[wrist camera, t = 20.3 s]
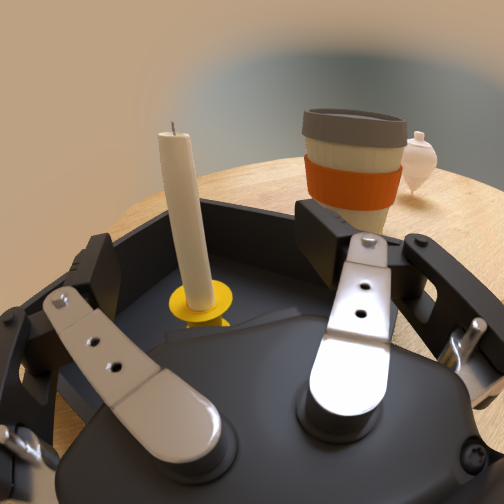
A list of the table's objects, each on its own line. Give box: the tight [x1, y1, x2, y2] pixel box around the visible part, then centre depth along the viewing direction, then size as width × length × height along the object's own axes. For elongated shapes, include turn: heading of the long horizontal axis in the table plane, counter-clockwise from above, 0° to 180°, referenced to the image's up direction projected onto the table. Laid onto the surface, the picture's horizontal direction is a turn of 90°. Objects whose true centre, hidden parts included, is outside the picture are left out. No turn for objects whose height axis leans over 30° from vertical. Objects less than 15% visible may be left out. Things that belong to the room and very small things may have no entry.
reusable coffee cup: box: [302, 109, 408, 235], centre depth 33 cm, size 13×13×15 cm
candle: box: [158, 122, 233, 328], centre depth 16 cm, size 5×5×16 cm
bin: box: [20, 198, 404, 424], centre depth 19 cm, size 22×22×7 cm
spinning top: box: [401, 131, 437, 196], centre depth 44 cm, size 8×8×12 cm
